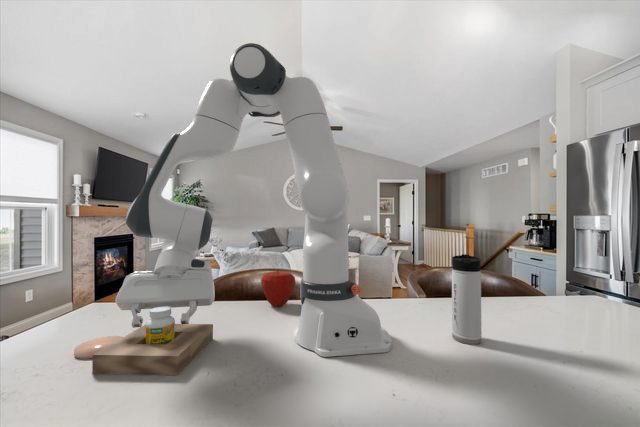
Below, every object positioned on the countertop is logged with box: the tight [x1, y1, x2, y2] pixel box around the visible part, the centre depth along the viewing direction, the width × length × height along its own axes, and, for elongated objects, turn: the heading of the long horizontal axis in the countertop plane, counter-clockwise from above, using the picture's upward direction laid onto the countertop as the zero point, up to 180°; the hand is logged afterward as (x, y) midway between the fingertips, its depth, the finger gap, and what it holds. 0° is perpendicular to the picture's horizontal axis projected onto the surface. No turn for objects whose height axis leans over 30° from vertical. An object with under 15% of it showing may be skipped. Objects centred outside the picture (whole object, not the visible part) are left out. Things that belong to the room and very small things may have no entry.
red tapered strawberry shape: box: [260, 269, 296, 308], centre depth 95 cm, size 11×11×12 cm
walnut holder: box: [91, 323, 214, 376], centre depth 60 cm, size 16×16×4 cm
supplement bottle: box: [146, 306, 176, 344], centre depth 60 cm, size 5×5×10 cm
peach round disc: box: [73, 335, 124, 360], centre depth 63 cm, size 9×9×1 cm
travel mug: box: [451, 253, 482, 345], centre depth 69 cm, size 6×7×20 cm
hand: (160, 324), depth 61 cm, fingers open, 8 cm apart
